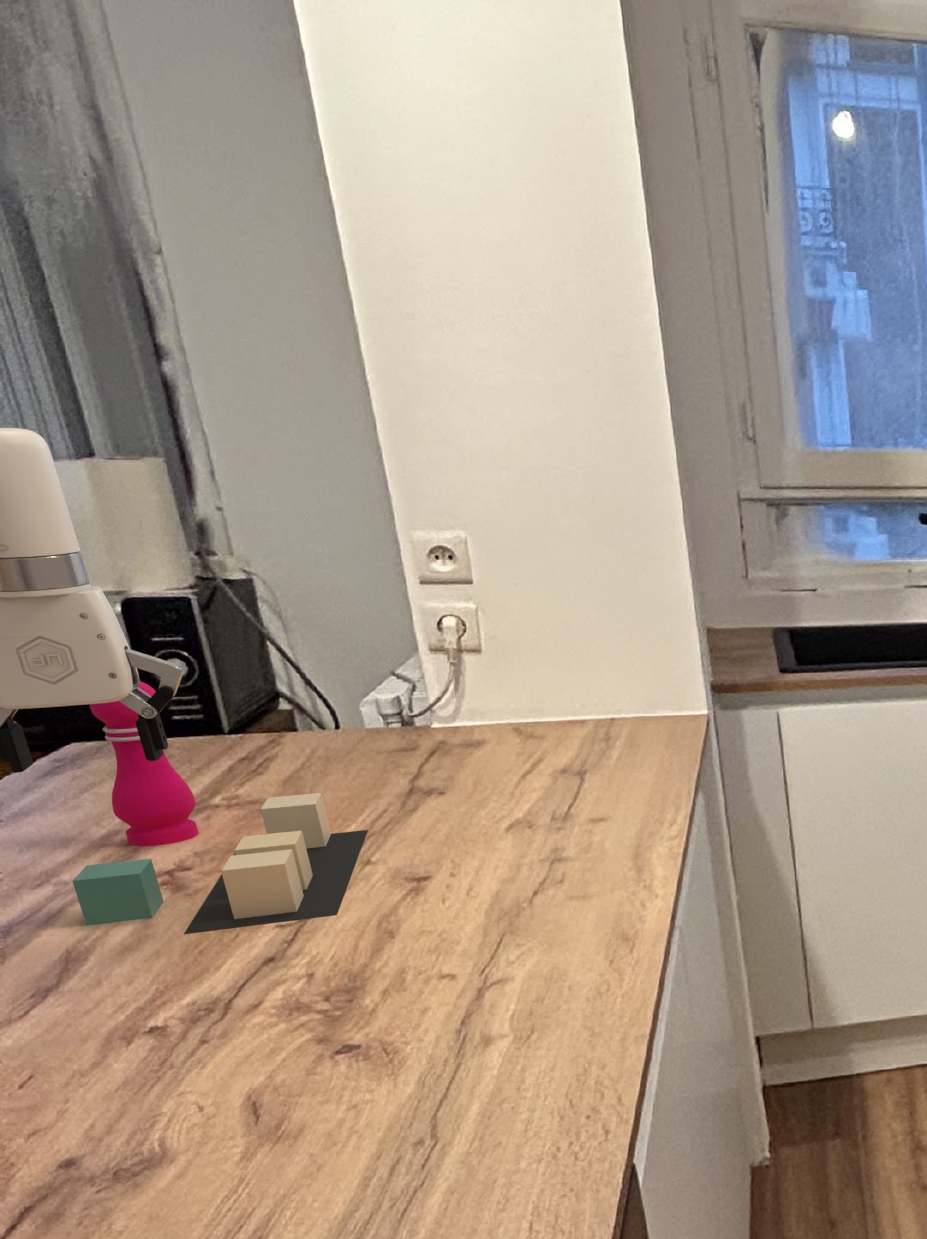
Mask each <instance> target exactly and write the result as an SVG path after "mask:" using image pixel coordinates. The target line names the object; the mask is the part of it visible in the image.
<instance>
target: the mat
mask: <svg viewBox="0 0 927 1239" xmlns="http://www.w3.org/2000/svg"><path fill="white" fill-rule="evenodd" d="M368 831H369V829H362V830H354V831H344V832H333V833H331V836H330V838H329V840H328V843H327V845H326V847H317V848H308V849H306V850H307V854H308V858H309V862H310V866H311V870H312V874H313V876H312V878H311V881H310V883H309V885H308V887H307V890H302V891H303V895H304V897H303V899H302V901H301V903H300V906H299V908H298V910H297V912H291V913H282V914H274V915H266V916H258V917H250V918H242V919H234V916H233V913H232V909H231V905H230V902H229V898H228V894H227V891H226V887H225V883H224V880H223V876H222V873H221V874H220V876H219V877H218V879H217V880H216V883H215V884H214V885H213V886H212V888H211V890H210V892H209V894H208V895H207V897H206V898H205V900H204V901H203V903H202V904H201V906H200V907H199V909H198V910H197V912H196V914H195V916H194V917H193V918H192V920H191V922H190V923H189V924H188V926H187V928H186V929H185V931H184V933H183V935H191V934H198V933H206V932H214V931H221V930H229V929H230V930H231V929H237V928H246V927H255V926H263V925H269V924H279V923H285V922H294V921H301V920H310V919H318V918H326V917H332V916H338V913H339V911H340V908H341V905H342V903H343V900H344V897H345V895H346V893H347V892H346V891H347V889H348V886H349V883H350V880H351V878H352V875H353V873H354V869H355V866H356V864H357V861H358V858H359V856H360V854H361V851H362V848H363V845H364V842H365V839H366V837H367V834H368ZM234 855H235V853H234V854H233V855H232V856H234Z"/></svg>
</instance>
